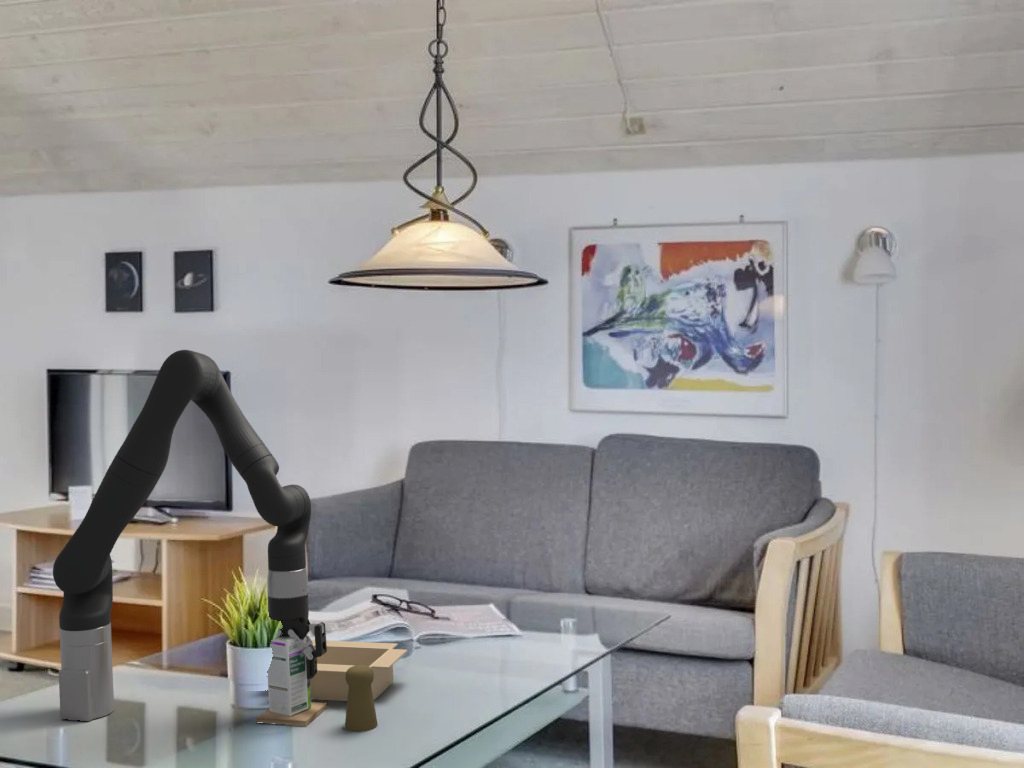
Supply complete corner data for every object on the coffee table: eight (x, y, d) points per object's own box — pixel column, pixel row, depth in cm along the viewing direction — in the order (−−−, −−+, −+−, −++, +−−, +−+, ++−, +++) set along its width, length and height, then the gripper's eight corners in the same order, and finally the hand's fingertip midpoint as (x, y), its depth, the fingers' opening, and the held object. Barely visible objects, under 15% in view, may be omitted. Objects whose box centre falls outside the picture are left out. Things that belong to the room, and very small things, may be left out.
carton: (414, 677, 230) (413, 644, 230) (382, 709, 211) (381, 673, 210) (299, 671, 236) (298, 639, 236) (257, 702, 216) (256, 667, 216)
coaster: (306, 726, 202) (305, 721, 202) (255, 723, 204) (255, 718, 204) (326, 708, 212) (326, 702, 212) (278, 705, 214) (278, 700, 214)
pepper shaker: (347, 720, 205) (346, 662, 205) (379, 719, 205) (378, 661, 204) (341, 731, 199) (339, 672, 199) (374, 731, 199) (373, 671, 198)
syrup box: (290, 717, 204) (287, 640, 204) (267, 711, 208) (265, 636, 207) (311, 708, 209) (309, 633, 208) (289, 703, 212) (287, 629, 212)
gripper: (244, 595, 205) (246, 680, 206) (315, 597, 202) (317, 684, 203) (261, 585, 212) (264, 668, 213) (330, 588, 209) (333, 672, 210)
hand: (290, 676), depth 208 cm, fingers open, 8 cm apart
